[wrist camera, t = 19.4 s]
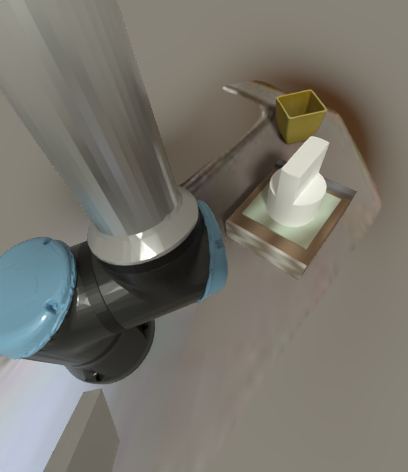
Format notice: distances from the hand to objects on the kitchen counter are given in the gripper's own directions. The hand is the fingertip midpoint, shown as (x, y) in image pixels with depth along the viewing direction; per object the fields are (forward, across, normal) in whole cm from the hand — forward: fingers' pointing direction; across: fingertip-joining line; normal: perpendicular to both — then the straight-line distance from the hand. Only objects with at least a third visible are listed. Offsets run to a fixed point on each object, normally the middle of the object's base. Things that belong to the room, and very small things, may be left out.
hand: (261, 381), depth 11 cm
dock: (+41, +16, -4) cm, 44 cm away
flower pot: (+59, +27, +14) cm, 66 cm away
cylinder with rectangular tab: (+38, +16, 0) cm, 41 cm away
